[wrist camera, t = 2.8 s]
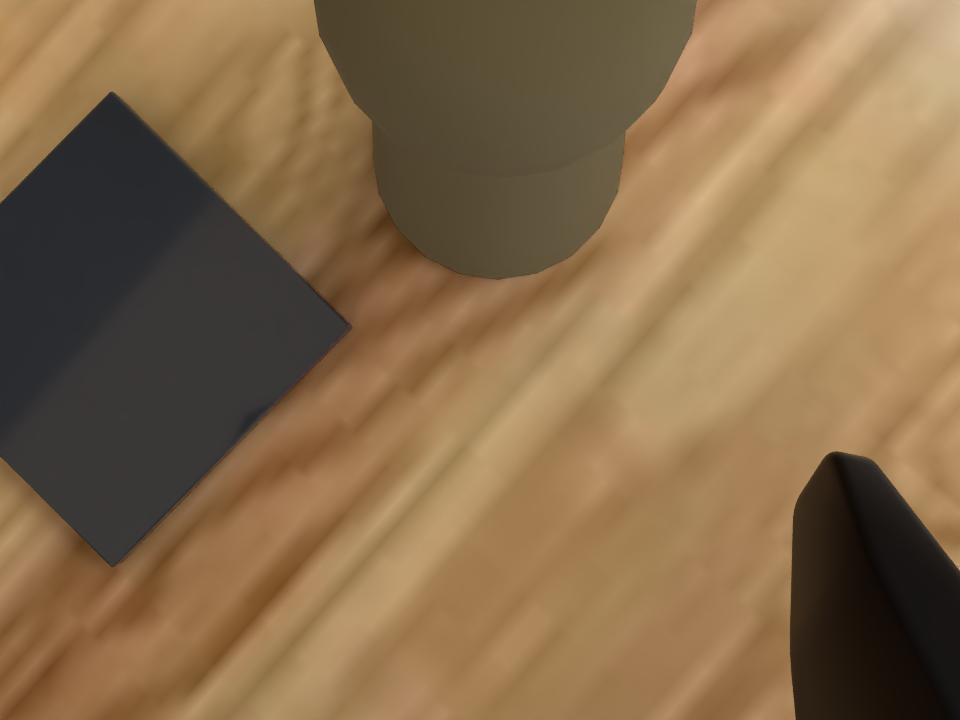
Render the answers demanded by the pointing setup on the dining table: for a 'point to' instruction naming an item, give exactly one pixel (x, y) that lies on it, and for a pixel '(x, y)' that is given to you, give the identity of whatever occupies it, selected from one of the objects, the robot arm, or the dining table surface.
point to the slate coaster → (138, 329)
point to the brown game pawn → (502, 115)
